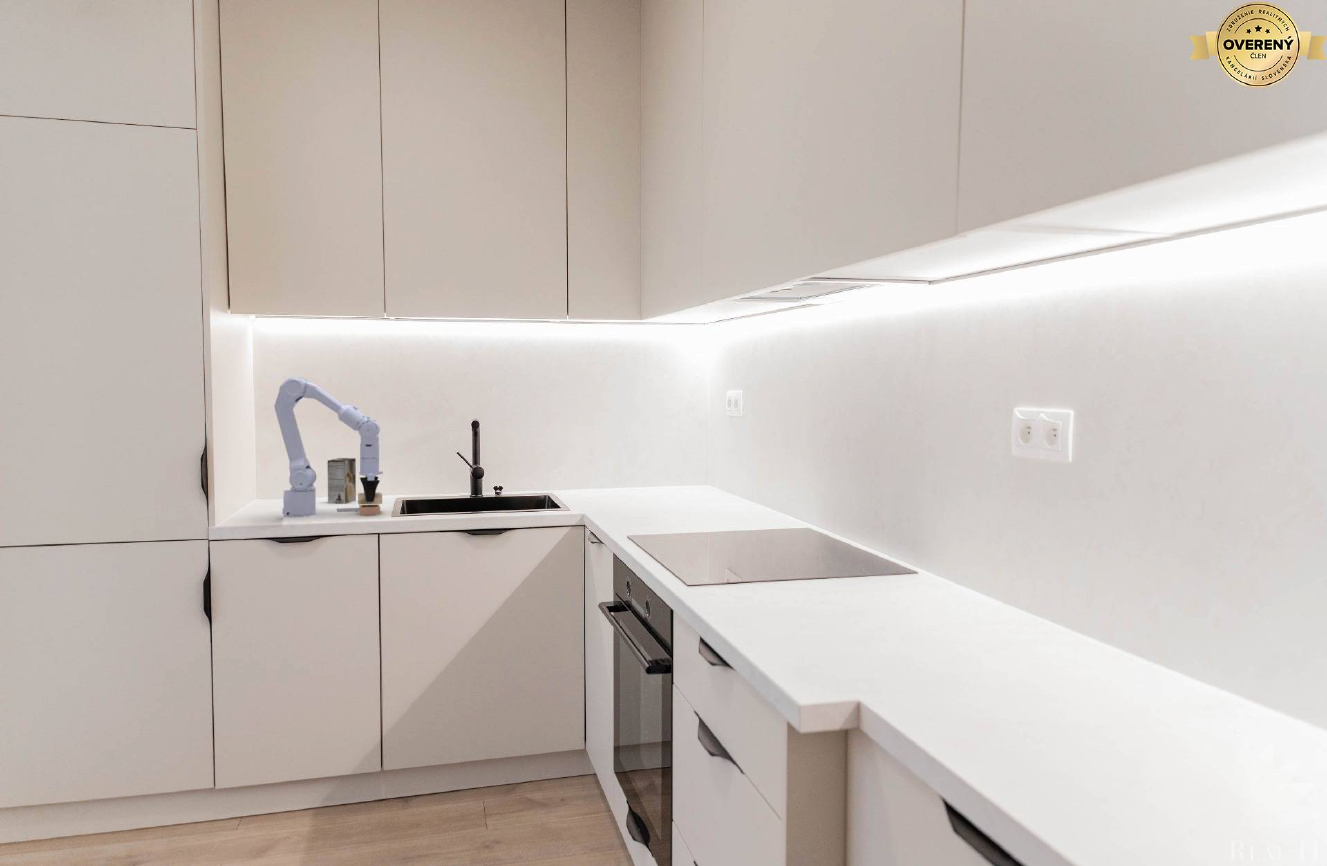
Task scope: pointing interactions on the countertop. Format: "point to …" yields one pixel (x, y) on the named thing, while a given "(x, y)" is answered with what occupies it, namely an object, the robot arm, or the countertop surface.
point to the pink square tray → (369, 509)
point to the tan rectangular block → (363, 501)
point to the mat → (347, 509)
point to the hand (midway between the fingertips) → (369, 500)
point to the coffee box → (341, 480)
